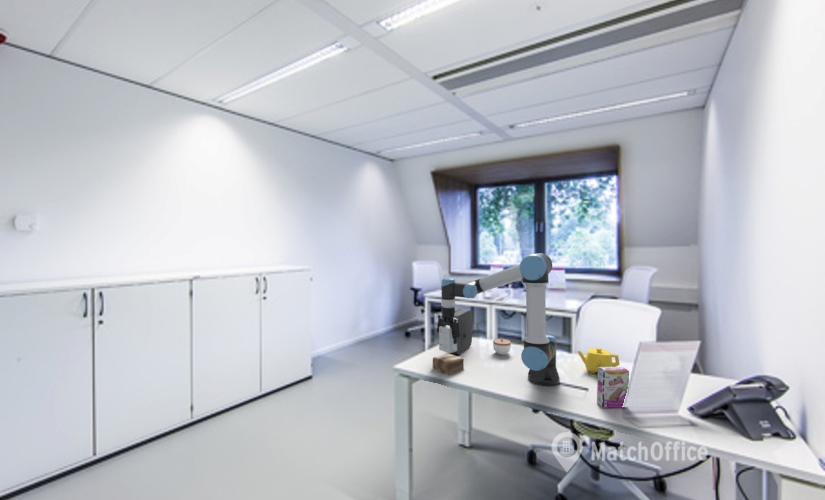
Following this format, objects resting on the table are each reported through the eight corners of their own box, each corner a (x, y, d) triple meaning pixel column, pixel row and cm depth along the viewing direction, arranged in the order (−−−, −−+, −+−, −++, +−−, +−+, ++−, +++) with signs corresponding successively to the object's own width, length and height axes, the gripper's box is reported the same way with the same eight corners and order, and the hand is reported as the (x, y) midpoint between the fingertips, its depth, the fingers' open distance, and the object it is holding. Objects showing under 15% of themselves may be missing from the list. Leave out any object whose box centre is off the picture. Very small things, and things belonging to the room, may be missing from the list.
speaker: (462, 344, 237) (462, 307, 236) (474, 346, 233) (474, 309, 232) (445, 355, 216) (445, 315, 215) (458, 357, 211) (458, 316, 210)
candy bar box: (603, 409, 147) (603, 370, 147) (596, 403, 152) (596, 366, 152) (628, 408, 148) (629, 370, 147) (621, 403, 153) (622, 366, 152)
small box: (457, 351, 192) (457, 327, 191) (449, 353, 188) (449, 329, 187) (446, 347, 198) (446, 324, 197) (438, 349, 194) (438, 326, 193)
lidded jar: (512, 352, 220) (513, 337, 220) (507, 357, 211) (507, 342, 211) (496, 349, 226) (496, 335, 225) (490, 354, 217) (490, 339, 216)
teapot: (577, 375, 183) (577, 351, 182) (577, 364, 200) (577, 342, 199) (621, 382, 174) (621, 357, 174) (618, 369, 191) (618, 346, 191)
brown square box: (463, 369, 192) (463, 357, 192) (448, 375, 185) (448, 363, 184) (447, 363, 201) (447, 352, 201) (432, 368, 194) (432, 357, 193)
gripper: (467, 308, 186) (467, 350, 187) (439, 302, 202) (439, 341, 203) (457, 310, 181) (457, 353, 182) (430, 304, 197) (430, 344, 198)
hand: (448, 347), depth 193 cm, fingers closed on small box, 8 cm apart
